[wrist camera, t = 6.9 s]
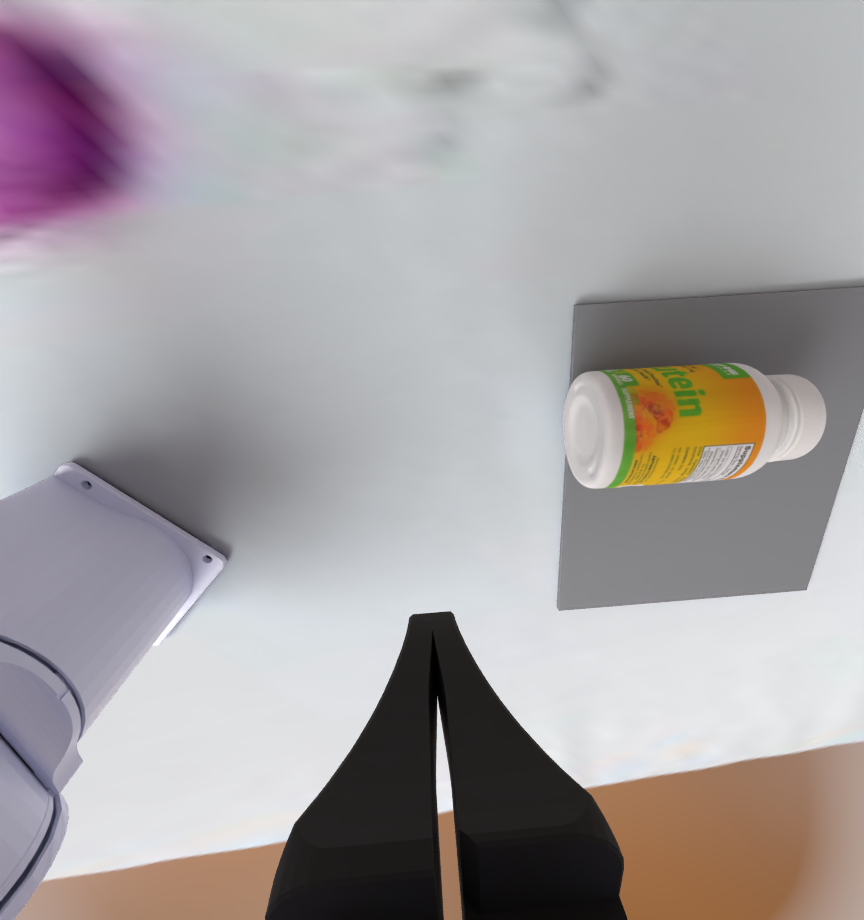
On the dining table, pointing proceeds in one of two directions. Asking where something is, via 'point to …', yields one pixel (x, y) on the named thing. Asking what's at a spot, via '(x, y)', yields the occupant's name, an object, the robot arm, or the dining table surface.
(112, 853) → the dining table surface
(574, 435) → the supplement bottle
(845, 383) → the slate mat
